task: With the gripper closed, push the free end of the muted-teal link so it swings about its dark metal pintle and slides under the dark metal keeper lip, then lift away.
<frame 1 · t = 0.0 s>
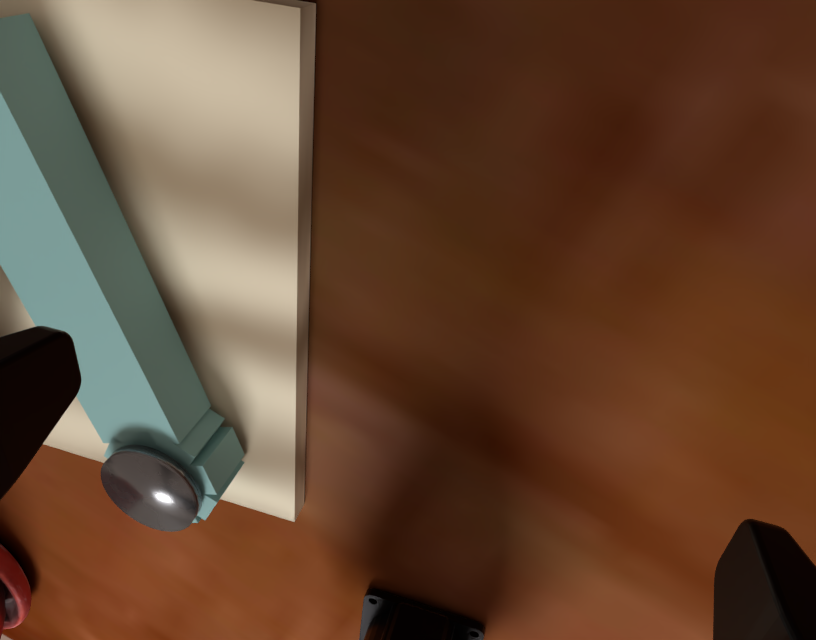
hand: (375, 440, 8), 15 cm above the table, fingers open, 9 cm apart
link: (98, 310, 26), point 3 cm above the table, hinge at -50.0°
base board: (53, 249, 29), on the table
pintle and keeper: (209, 418, 32), resting on base board
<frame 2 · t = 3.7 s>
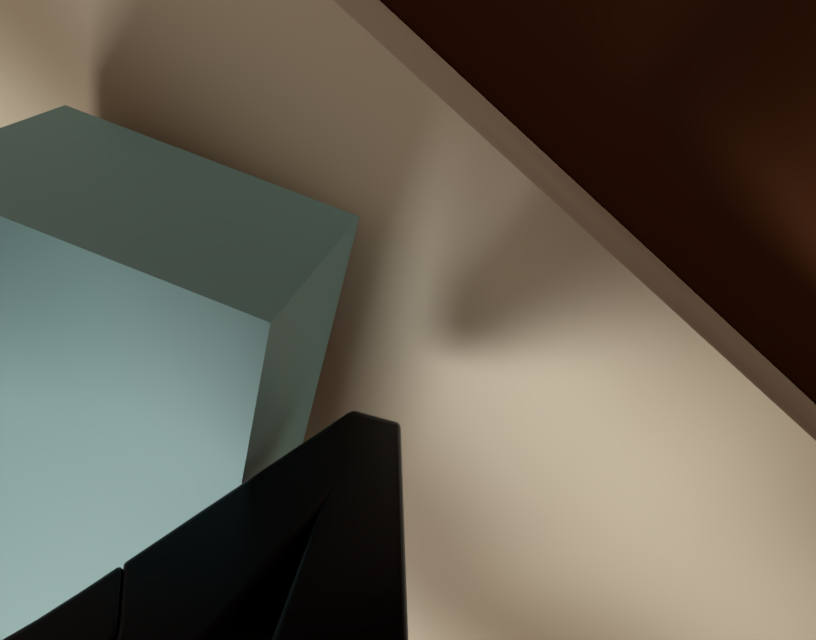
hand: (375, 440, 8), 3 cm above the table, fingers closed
base board: (65, 430, 14), on the table
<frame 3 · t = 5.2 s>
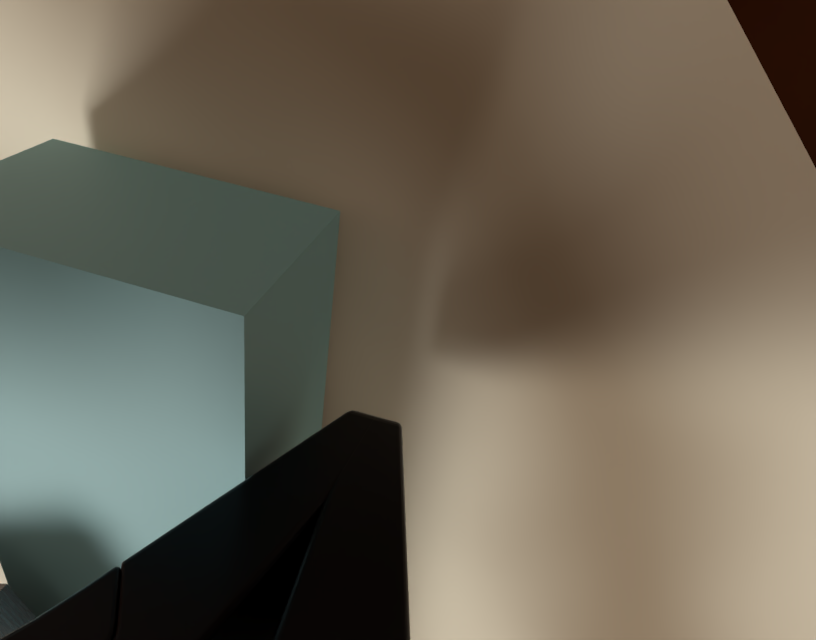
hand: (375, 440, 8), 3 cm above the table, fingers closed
base board: (251, 490, 14), on the table
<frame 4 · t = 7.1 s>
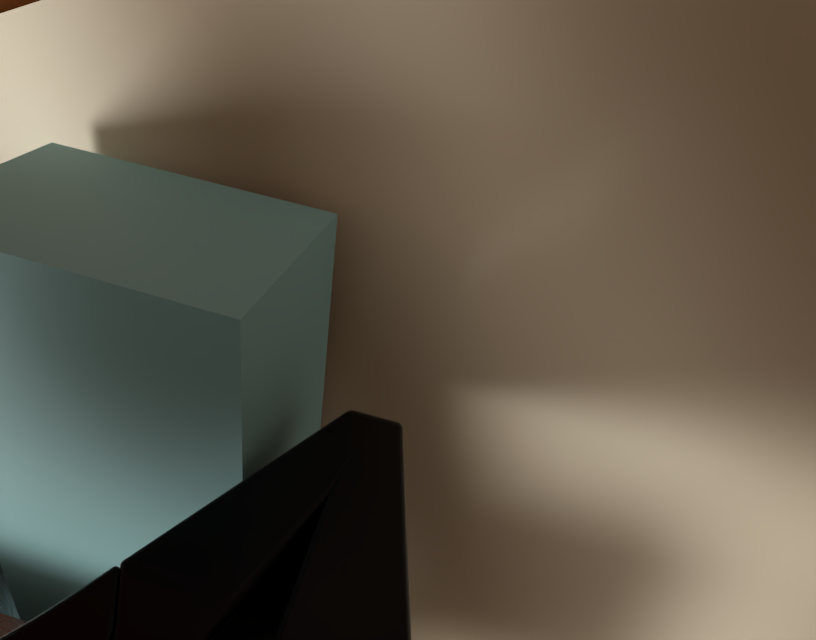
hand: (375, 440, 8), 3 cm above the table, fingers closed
base board: (436, 582, 14), on the table
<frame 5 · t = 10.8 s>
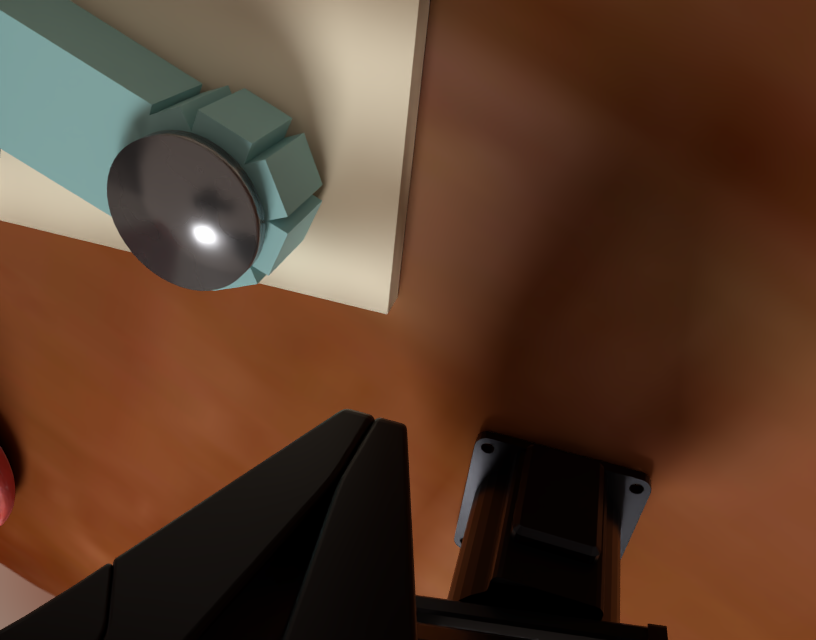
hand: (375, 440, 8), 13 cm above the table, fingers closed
pintle and keeper: (264, 160, 22), resting on base board
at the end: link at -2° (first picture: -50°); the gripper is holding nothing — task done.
